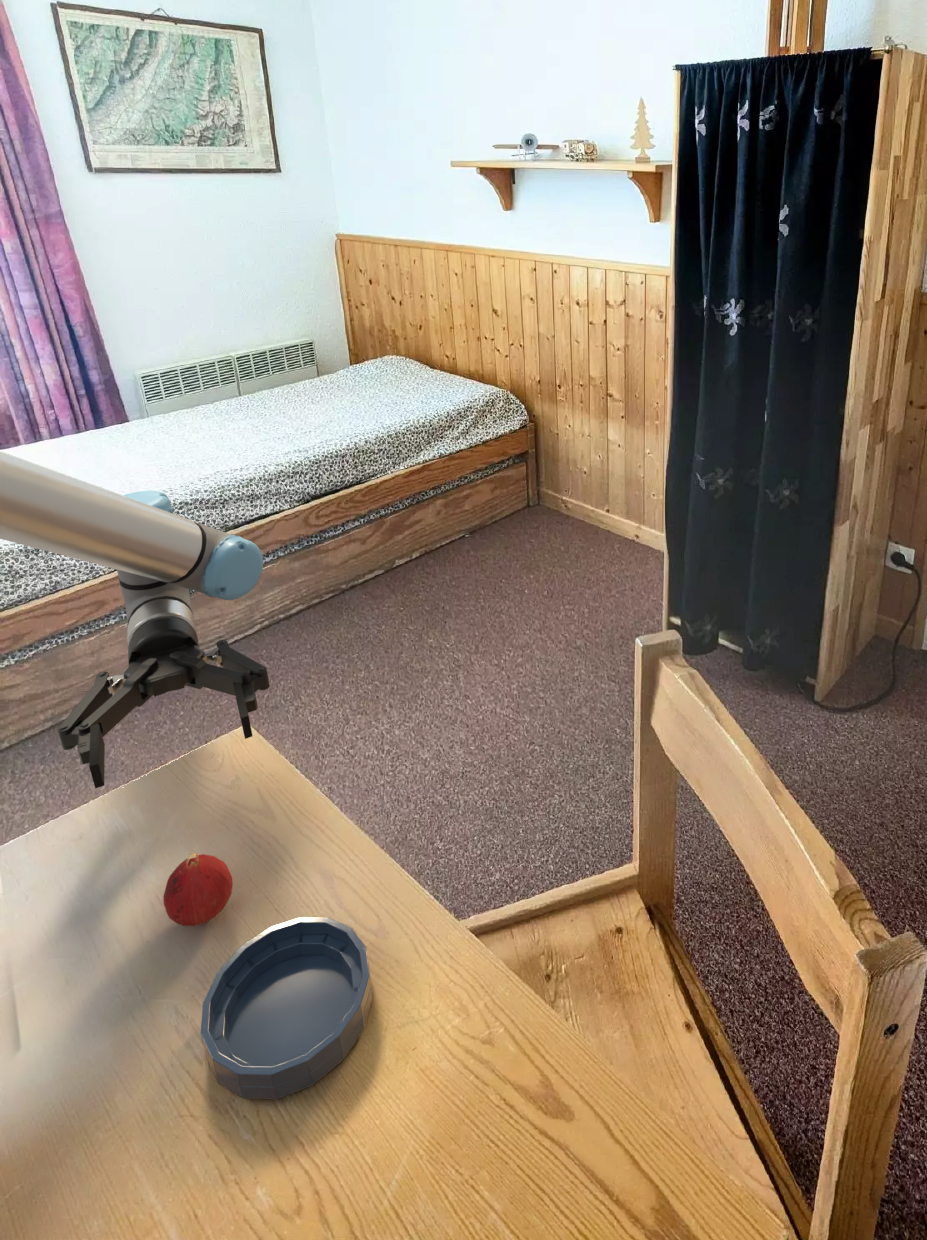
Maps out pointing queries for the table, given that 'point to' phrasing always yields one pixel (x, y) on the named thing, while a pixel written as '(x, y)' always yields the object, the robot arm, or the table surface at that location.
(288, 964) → the bowl
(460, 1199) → the table surface
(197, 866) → the red oval fruit
